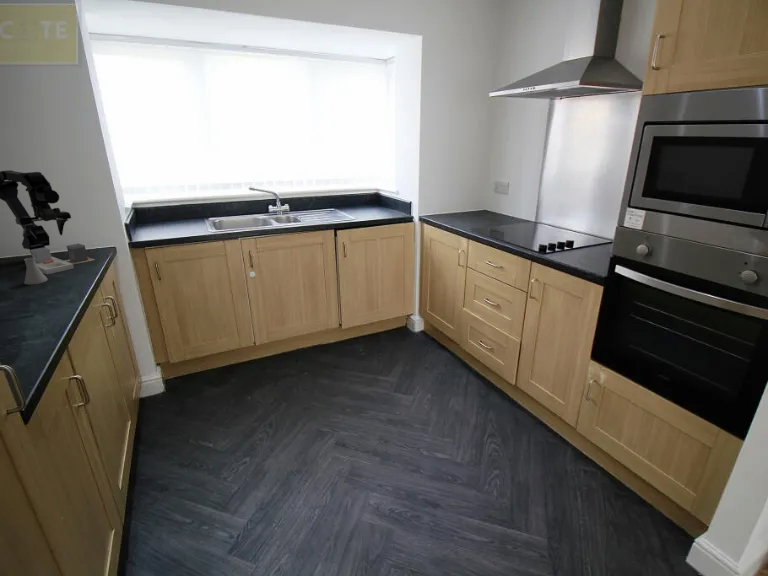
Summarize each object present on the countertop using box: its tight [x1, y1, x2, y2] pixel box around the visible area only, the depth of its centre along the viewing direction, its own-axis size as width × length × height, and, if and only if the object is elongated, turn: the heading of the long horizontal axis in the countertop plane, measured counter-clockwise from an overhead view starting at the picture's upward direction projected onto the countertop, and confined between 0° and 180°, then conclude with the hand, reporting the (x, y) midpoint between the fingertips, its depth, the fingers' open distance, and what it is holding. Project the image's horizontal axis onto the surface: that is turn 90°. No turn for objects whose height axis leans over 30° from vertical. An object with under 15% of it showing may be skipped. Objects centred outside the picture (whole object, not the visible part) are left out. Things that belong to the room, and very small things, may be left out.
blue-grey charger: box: [29, 247, 53, 263], centre depth 187 cm, size 6×5×7 cm
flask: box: [23, 257, 49, 285], centre depth 165 cm, size 7×7×10 cm
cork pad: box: [64, 256, 96, 265], centre depth 195 cm, size 10×9×1 cm
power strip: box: [24, 255, 75, 275], centre depth 186 cm, size 27×10×3 cm, turn 56°
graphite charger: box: [66, 243, 89, 263], centre depth 193 cm, size 6×5×7 cm
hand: (49, 237), depth 188 cm, fingers open, 9 cm apart
